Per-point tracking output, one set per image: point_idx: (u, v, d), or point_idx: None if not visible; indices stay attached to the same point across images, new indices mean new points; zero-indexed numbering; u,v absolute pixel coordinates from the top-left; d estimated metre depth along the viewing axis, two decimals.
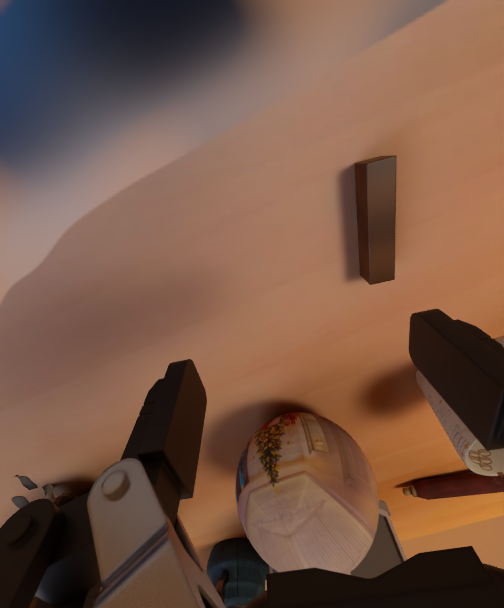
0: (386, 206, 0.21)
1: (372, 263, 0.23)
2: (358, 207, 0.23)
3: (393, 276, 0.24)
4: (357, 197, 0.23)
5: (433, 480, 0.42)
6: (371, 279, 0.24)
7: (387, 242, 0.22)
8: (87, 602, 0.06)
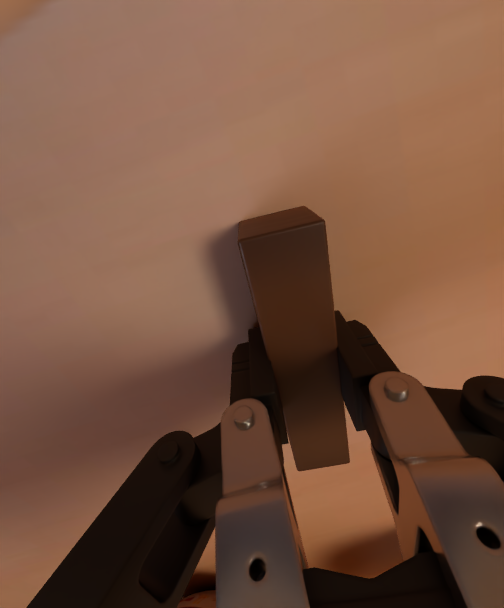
0: (312, 339, 0.08)
1: (295, 440, 0.10)
2: None
3: (346, 459, 0.11)
4: None
5: None
6: (299, 463, 0.11)
7: (326, 406, 0.09)
8: (203, 535, 0.06)
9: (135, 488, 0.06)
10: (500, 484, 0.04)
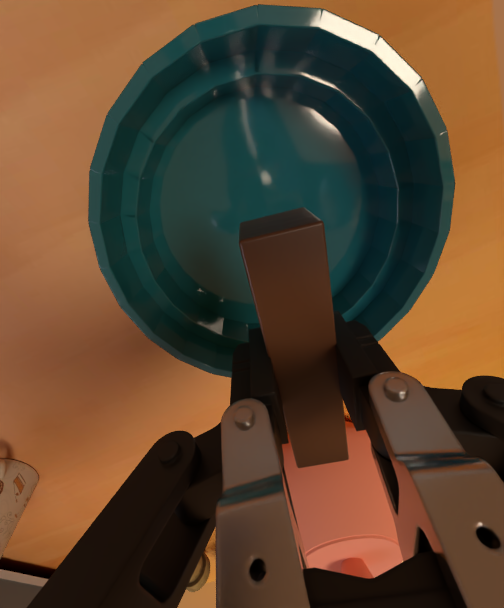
0: (312, 338, 0.08)
1: (295, 437, 0.10)
2: None
3: (345, 456, 0.11)
4: None
5: None
6: (299, 460, 0.11)
7: (326, 403, 0.10)
8: (203, 535, 0.06)
9: (135, 488, 0.06)
10: (499, 484, 0.04)
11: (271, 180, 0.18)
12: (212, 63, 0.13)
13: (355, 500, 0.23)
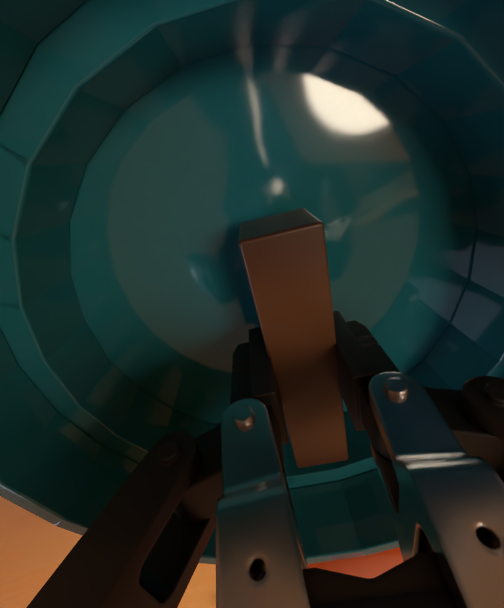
0: (312, 338, 0.08)
1: (295, 437, 0.10)
2: None
3: (345, 456, 0.11)
4: None
5: None
6: (299, 460, 0.11)
7: (325, 404, 0.10)
8: (203, 535, 0.06)
9: (136, 488, 0.06)
10: (500, 484, 0.04)
11: None
12: None
13: None
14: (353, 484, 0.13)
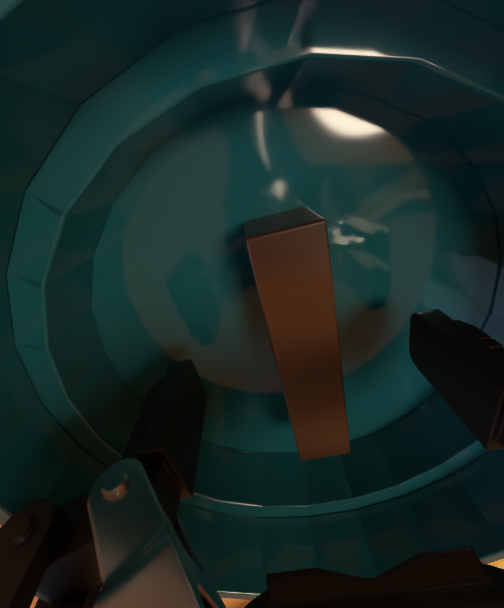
0: (315, 332, 0.09)
1: (298, 430, 0.11)
2: None
3: (347, 449, 0.11)
4: None
5: None
6: (302, 453, 0.12)
7: (328, 397, 0.10)
8: (87, 601, 0.06)
9: None
10: None
11: None
12: (190, 29, 0.05)
13: None
14: (370, 514, 0.13)
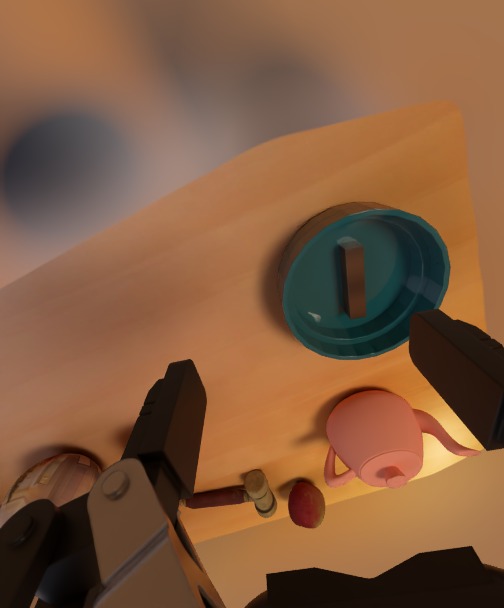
0: (358, 273, 0.33)
1: (351, 306, 0.36)
2: (342, 270, 0.35)
3: (365, 314, 0.36)
4: (341, 264, 0.35)
5: (198, 495, 0.59)
6: (351, 316, 0.36)
7: (360, 294, 0.35)
8: (87, 602, 0.06)
9: None
10: None
11: None
12: None
13: (394, 431, 0.40)
14: (372, 340, 0.38)
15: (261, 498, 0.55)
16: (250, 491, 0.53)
